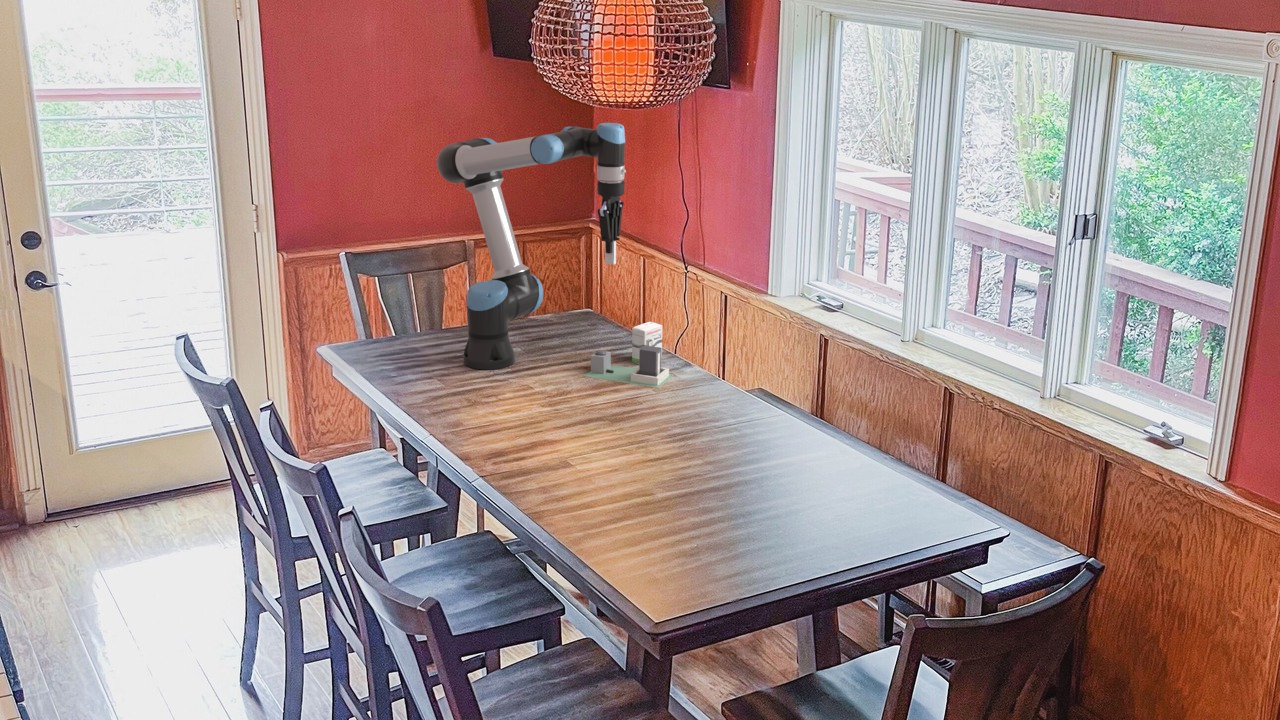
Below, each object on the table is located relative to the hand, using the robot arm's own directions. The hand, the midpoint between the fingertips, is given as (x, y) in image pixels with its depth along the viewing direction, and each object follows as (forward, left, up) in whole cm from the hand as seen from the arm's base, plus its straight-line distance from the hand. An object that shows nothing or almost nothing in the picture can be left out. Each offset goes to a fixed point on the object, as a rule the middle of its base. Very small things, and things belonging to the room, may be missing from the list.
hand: (610, 263), depth 351 cm
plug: (+14, -4, -31) cm, 34 cm away
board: (+8, -4, -32) cm, 33 cm away
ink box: (+7, +11, -33) cm, 35 cm away
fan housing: (0, -3, -31) cm, 31 cm away
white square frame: (+14, -4, -31) cm, 34 cm away
